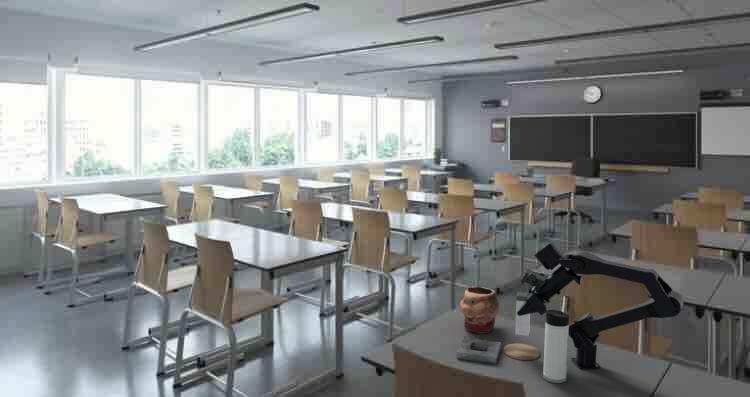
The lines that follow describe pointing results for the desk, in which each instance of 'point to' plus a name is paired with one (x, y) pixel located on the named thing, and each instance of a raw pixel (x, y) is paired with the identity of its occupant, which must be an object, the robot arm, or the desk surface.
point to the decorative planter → (479, 309)
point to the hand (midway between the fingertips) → (518, 312)
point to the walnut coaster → (521, 351)
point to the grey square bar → (524, 320)
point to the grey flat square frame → (487, 357)
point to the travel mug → (556, 346)
